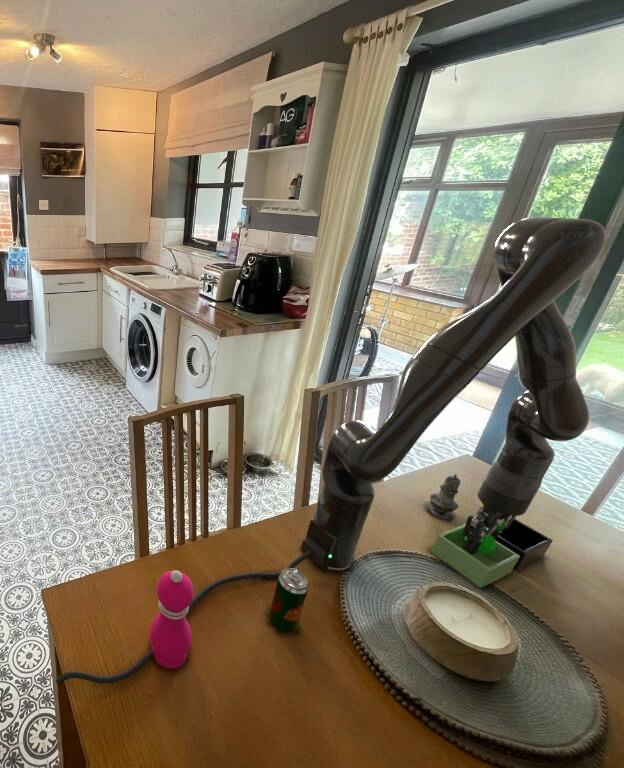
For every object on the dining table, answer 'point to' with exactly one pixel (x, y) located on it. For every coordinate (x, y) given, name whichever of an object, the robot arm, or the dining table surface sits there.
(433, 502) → the grey figurine
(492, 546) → the polyhedron
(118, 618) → the dining table surface
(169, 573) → the pepper mill
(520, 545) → the charcoal bin
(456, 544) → the green bin
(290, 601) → the soda can
